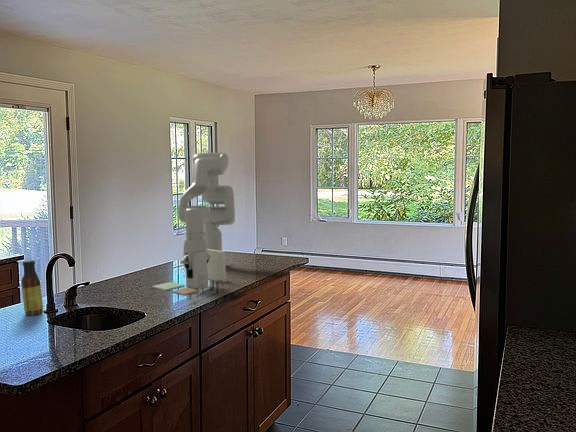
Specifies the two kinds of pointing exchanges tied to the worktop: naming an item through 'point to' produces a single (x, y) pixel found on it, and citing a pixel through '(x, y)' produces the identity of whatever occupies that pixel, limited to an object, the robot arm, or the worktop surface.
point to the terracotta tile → (185, 291)
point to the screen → (216, 265)
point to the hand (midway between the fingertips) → (196, 276)
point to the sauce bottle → (31, 289)
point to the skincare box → (198, 271)
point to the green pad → (168, 286)
